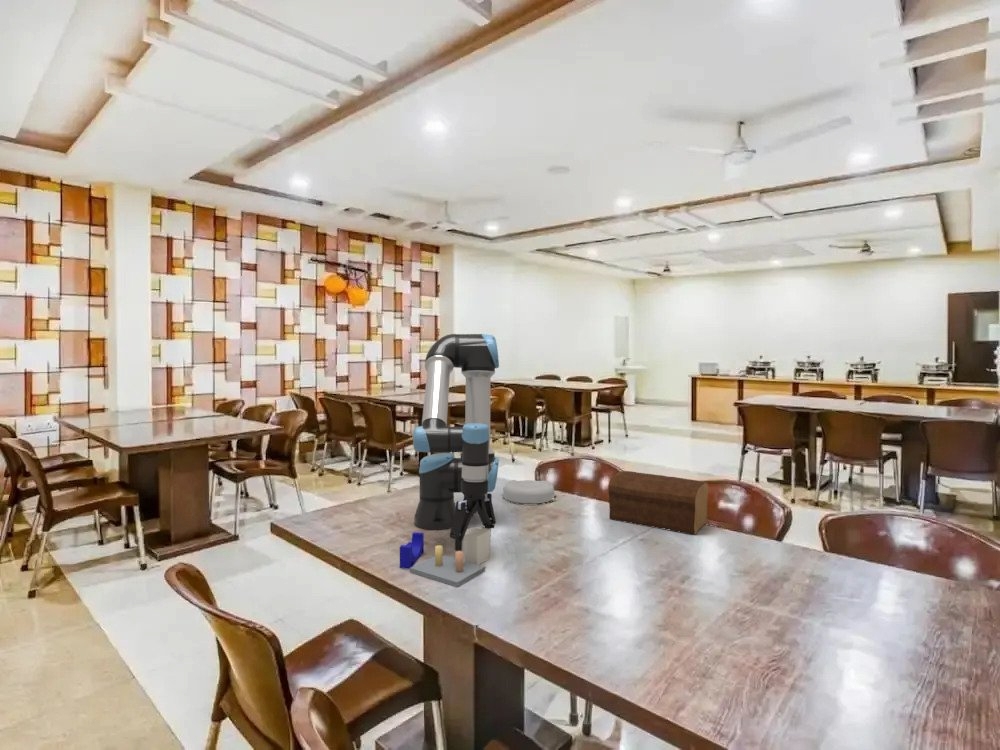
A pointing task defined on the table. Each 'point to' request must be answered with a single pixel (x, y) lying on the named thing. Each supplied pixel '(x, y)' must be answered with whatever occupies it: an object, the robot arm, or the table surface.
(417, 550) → the blue arched piece
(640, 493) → the bread
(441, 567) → the board
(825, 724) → the table surface
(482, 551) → the cream rectangular block
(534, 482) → the round ceiling alarm
